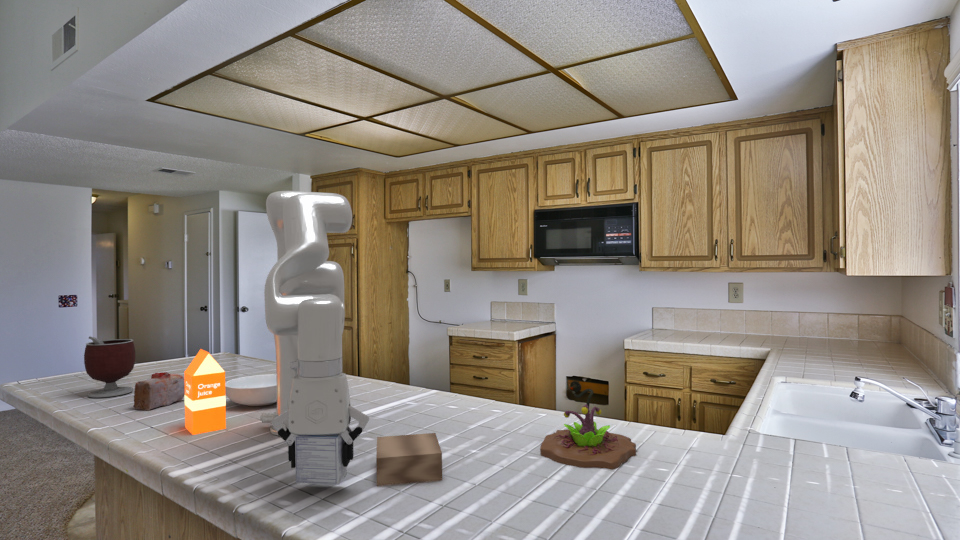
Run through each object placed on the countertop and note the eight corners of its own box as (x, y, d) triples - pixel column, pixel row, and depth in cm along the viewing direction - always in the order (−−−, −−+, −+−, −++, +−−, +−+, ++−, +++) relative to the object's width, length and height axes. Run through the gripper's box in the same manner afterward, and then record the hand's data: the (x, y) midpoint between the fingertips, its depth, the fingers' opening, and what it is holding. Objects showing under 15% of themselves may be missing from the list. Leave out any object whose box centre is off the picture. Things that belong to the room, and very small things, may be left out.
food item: (169, 398, 162) (168, 367, 162) (190, 399, 160) (189, 368, 160) (130, 409, 148) (130, 376, 148) (153, 411, 147) (152, 377, 147)
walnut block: (376, 491, 92) (376, 458, 92) (377, 466, 104) (377, 437, 104) (442, 485, 95) (441, 453, 95) (435, 461, 106) (435, 432, 106)
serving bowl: (312, 399, 158) (312, 377, 158) (251, 416, 141) (250, 391, 141) (270, 391, 169) (270, 370, 169) (209, 406, 152) (208, 383, 152)
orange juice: (192, 435, 124) (191, 354, 124) (184, 427, 130) (183, 350, 130) (226, 429, 129) (225, 350, 129) (217, 421, 136) (216, 346, 136)
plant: (527, 462, 105) (526, 408, 105) (556, 434, 123) (555, 388, 123) (625, 479, 96) (625, 420, 96) (642, 447, 114) (641, 397, 114)
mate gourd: (106, 388, 177) (105, 330, 177) (145, 387, 176) (144, 330, 176) (69, 399, 161) (68, 336, 161) (111, 399, 161) (110, 336, 161)
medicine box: (347, 474, 93) (347, 428, 92) (338, 486, 88) (338, 436, 88) (305, 473, 93) (305, 426, 93) (294, 484, 89) (294, 435, 89)
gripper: (262, 373, 86) (264, 474, 86) (366, 372, 87) (367, 472, 87) (277, 364, 93) (278, 457, 94) (373, 362, 94) (373, 455, 95)
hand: (321, 464), depth 91 cm, fingers closed on medicine box, 8 cm apart
